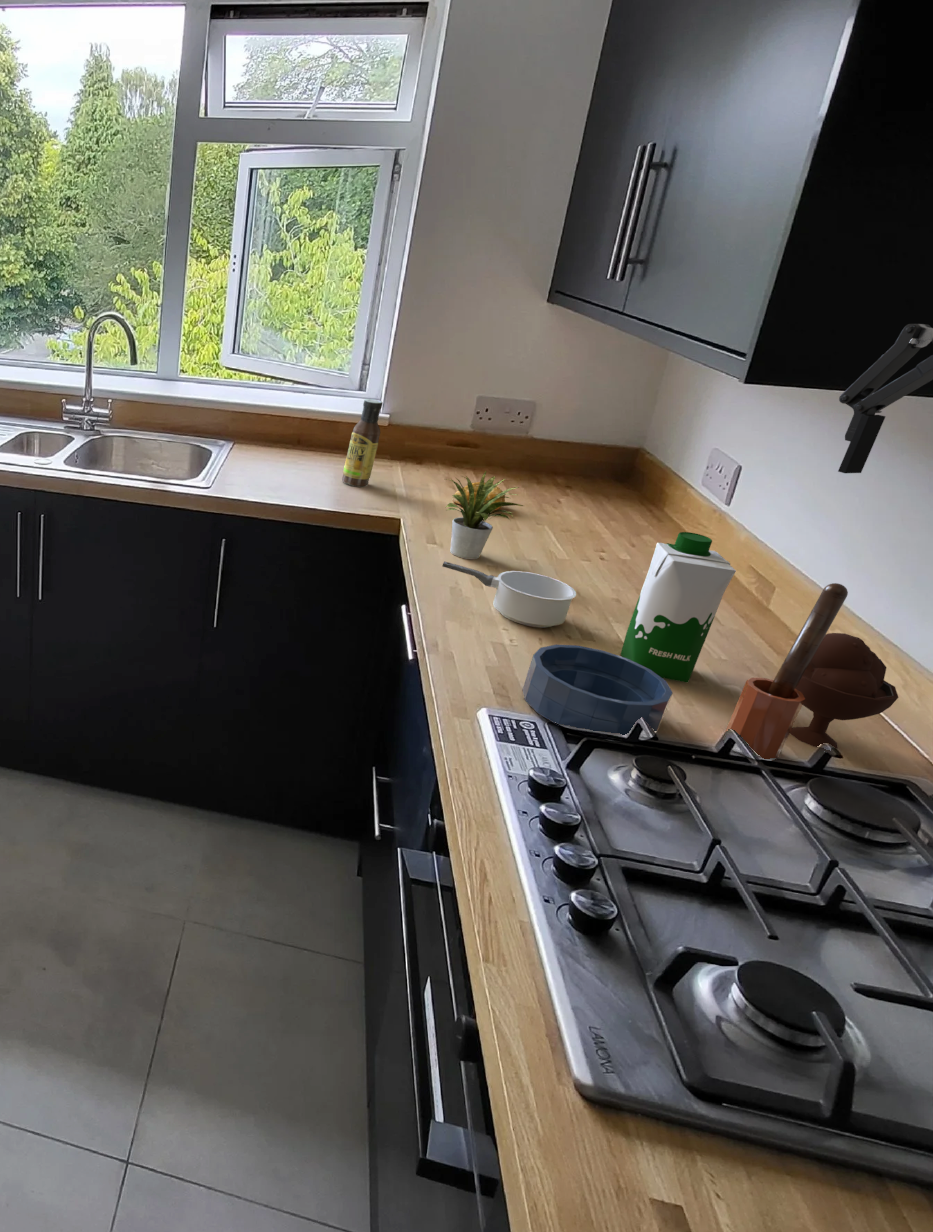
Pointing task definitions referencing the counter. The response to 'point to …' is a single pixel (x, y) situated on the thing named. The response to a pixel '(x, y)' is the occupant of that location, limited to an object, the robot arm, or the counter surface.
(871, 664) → the ice cream bowl
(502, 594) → the saucepan
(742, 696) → the utensil pot
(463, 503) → the house plant
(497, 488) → the bagel
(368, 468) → the sauce bottle
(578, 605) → the counter surface
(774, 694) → the cooking stick
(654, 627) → the milk carton
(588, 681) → the mixing bowl
